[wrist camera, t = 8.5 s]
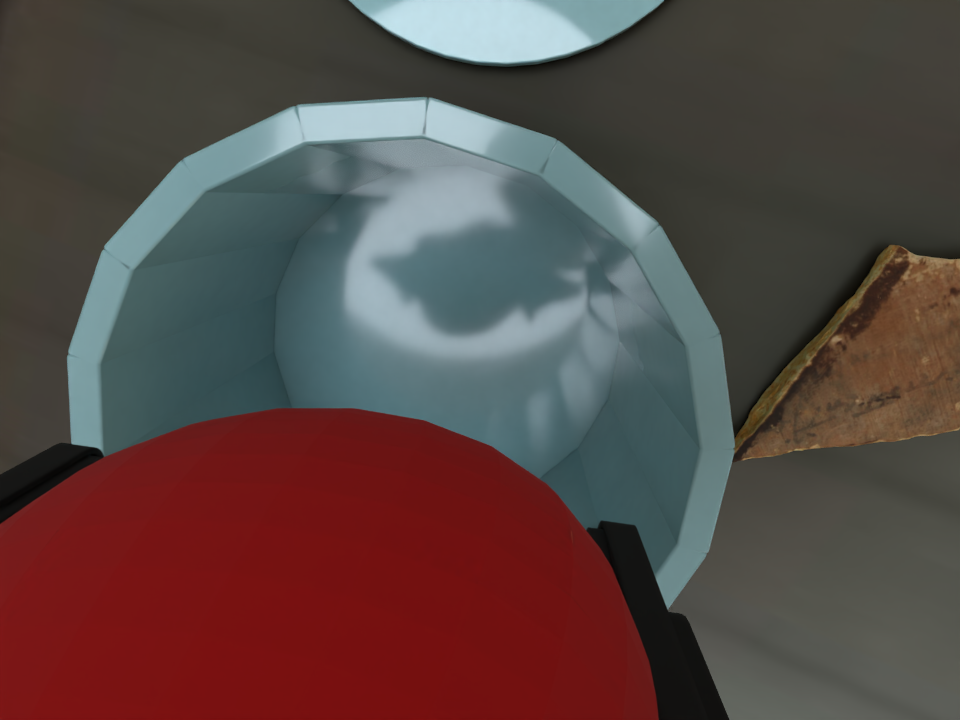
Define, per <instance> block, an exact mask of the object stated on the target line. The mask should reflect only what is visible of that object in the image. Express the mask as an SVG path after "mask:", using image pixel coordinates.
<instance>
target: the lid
mask: <svg viewBox="0 0 960 720" xmlns="http://www.w3.org/2000/svg"><path fill="white" fill-rule="evenodd" d="M348 1H349V2H350V3H351V4H352V5H354V6H355V7H356V8H357V9H358V10H359V11H360V12H361V13H362V14H363V15H364V16H366V17H367V18H369V19H370V20H371V21H373V22H374V23H376V24H377V25H378V26H380V27H381V28H383V29H384V30H385V31H387V32H388V33H390V34H391V35H393V36H395V37H397V38H399V39H401V40H403V41H405V42H406V43H408V44H410V45H412V46H414V47H416V48H418V49H421V50H424V51H426V52H429V53H432V54H435V55H437V56H440V57H443V58H446V59H450V60H455V61H460V62H465V63H469V64H474V65H486V66H503V67H510V66H522V65H534V64H541V63H545V62H549V61H554V60H558V59H563V58H567V57H570V56H573V55H575V54H578V53H581V52H583V51H586V50H588V49H591V48H594V47H596V46H599V45H601V44H602V43H604V42H606V41H608V40H610V39H612V38H614V37H615V36H617V35H619V34H621V33H623V32H625V31H627V30H628V29H629V28H631V27H632V26H633V25H635V24H636V23H638V22H639V21H640V20H642V19H643V18H645V17H646V16H647V15H649V14H650V13H652V12H653V11H654V10H655V9H656V8H658V7H659V6H660V5H661V4H662V3H663V2H664V1H665V0H348Z"/></svg>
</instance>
